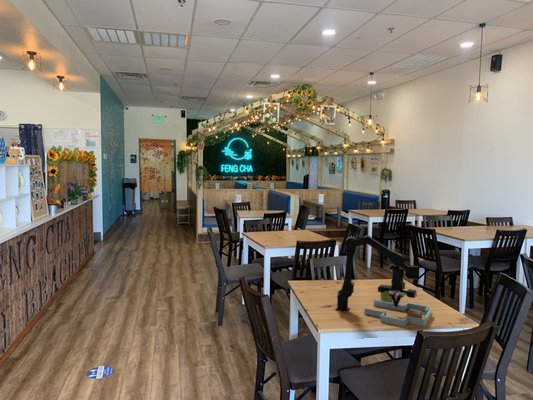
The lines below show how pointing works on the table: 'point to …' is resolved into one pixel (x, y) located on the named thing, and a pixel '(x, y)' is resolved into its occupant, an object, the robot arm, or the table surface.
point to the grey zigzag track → (404, 307)
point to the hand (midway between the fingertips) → (396, 307)
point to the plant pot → (386, 295)
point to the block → (414, 313)
